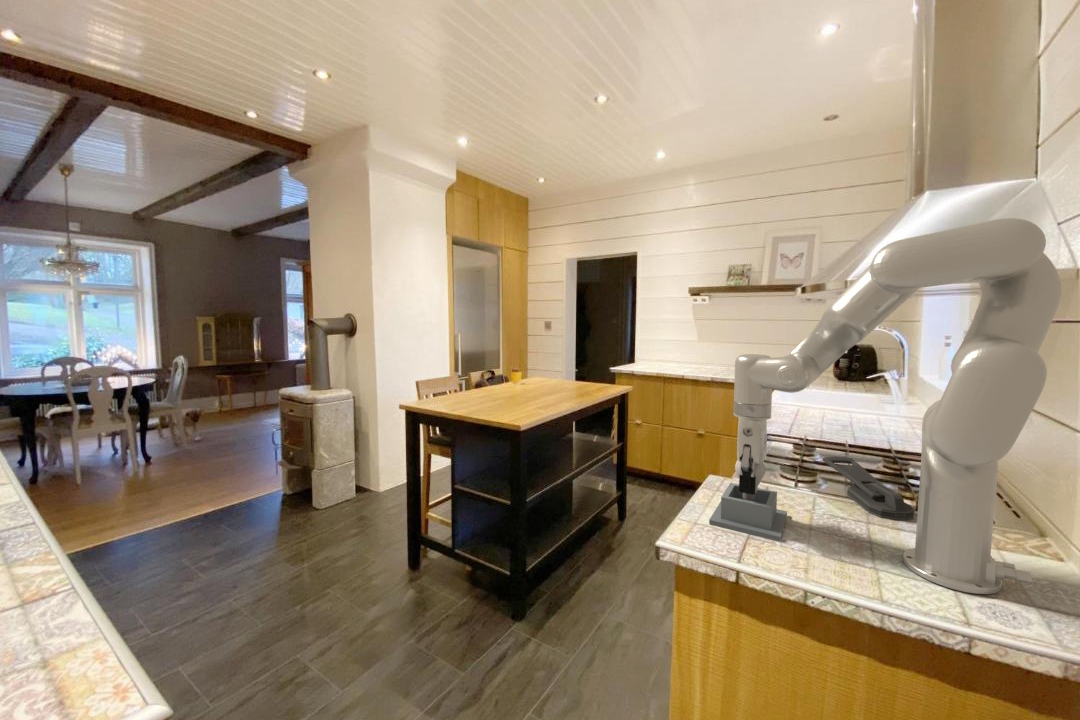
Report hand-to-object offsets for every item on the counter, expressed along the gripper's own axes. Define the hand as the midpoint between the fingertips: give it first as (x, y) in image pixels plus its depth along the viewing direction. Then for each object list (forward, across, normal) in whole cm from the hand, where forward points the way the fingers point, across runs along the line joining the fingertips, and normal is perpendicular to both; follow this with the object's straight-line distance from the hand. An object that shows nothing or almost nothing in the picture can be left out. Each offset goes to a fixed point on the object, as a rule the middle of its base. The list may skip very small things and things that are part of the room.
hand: (749, 487), depth 96 cm
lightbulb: (+4, 0, 0) cm, 4 cm away
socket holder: (+8, 0, 0) cm, 8 cm away
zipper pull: (+8, +29, -22) cm, 37 cm away
